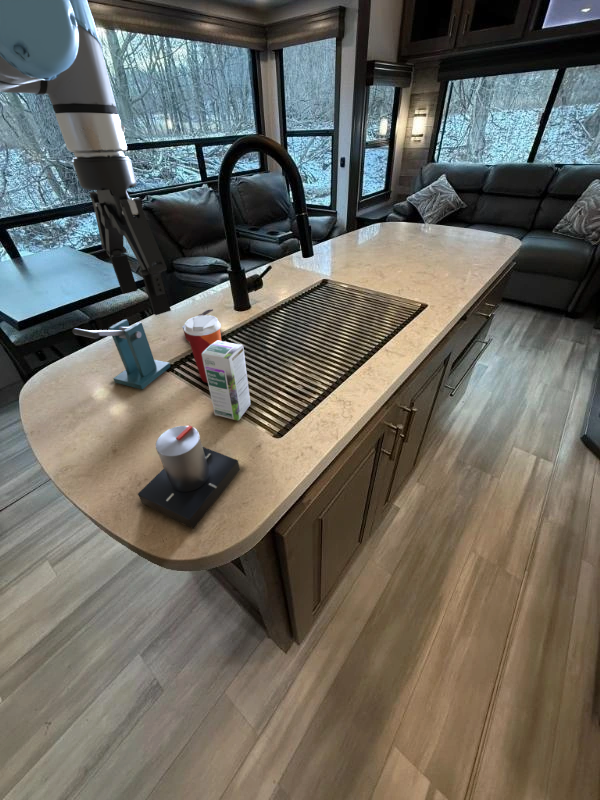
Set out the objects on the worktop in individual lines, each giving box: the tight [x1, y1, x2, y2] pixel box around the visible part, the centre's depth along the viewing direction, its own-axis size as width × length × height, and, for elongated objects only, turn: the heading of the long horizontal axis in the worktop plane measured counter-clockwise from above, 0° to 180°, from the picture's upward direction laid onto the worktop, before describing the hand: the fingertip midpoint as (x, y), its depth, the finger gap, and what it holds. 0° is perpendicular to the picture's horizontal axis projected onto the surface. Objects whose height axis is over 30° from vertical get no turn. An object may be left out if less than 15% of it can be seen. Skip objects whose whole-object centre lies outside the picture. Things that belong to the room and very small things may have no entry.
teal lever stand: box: [108, 319, 171, 390], centre depth 75 cm, size 10×8×13 cm
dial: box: [155, 425, 209, 492], centre depth 49 cm, size 6×6×8 cm
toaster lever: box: [72, 327, 129, 340], centre depth 68 cm, size 12×6×2 cm, turn 160°
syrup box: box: [202, 340, 251, 422], centre depth 64 cm, size 6×6×14 cm
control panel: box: [137, 446, 241, 530], centre depth 53 cm, size 12×10×3 cm
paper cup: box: [183, 314, 222, 384], centre depth 74 cm, size 8×8×14 cm
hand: (145, 301), depth 60 cm, fingers open, 13 cm apart
